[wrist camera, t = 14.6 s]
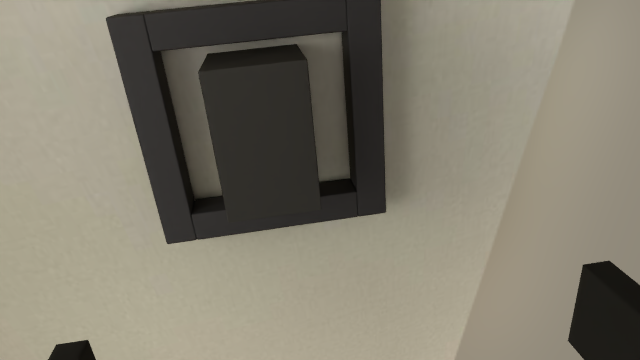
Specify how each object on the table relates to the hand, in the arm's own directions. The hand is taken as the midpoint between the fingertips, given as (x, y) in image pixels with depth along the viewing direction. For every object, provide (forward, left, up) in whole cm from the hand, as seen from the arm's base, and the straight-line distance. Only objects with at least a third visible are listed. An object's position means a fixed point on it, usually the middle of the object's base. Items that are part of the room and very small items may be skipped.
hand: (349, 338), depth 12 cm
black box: (+2, -1, -17) cm, 17 cm away
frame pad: (+2, -1, -17) cm, 17 cm away
